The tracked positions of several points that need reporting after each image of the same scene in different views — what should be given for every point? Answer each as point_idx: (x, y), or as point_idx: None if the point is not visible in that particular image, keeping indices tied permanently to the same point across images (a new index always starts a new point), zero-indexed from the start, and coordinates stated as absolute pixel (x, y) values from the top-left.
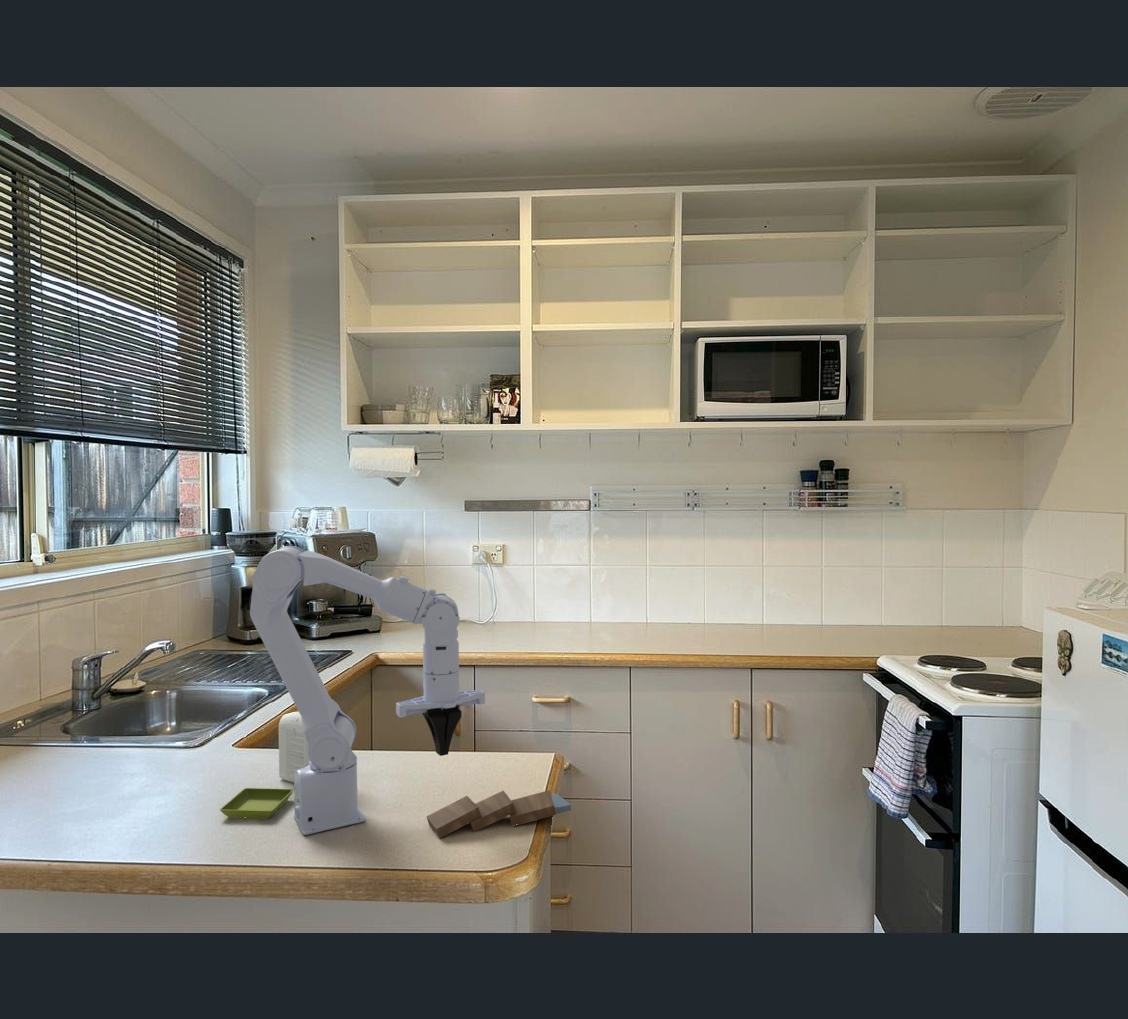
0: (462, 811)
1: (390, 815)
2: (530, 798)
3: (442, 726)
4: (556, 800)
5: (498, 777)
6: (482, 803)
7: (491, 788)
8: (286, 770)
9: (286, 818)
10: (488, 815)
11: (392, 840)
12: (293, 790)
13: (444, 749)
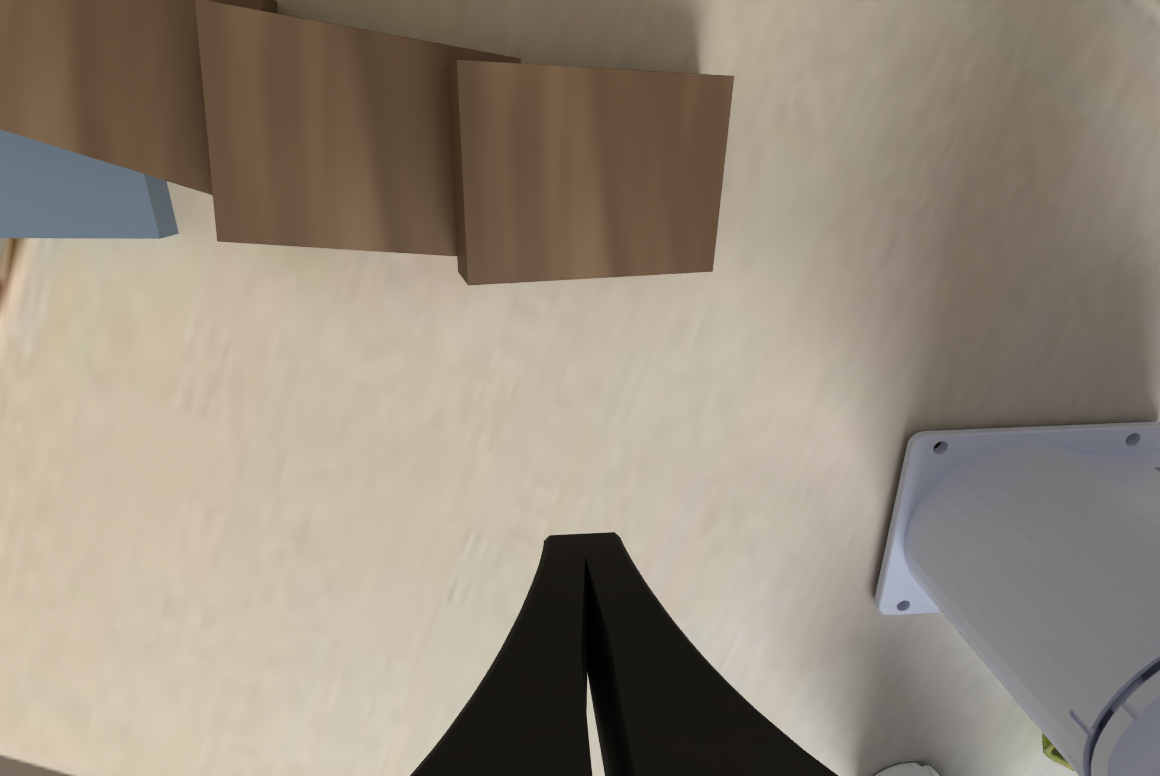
0: (555, 119)
1: (790, 446)
2: (56, 99)
3: (675, 752)
4: None
5: (206, 594)
6: (391, 213)
7: (270, 503)
8: None
9: None
10: (402, 37)
11: (896, 197)
12: (1046, 746)
13: (590, 556)
